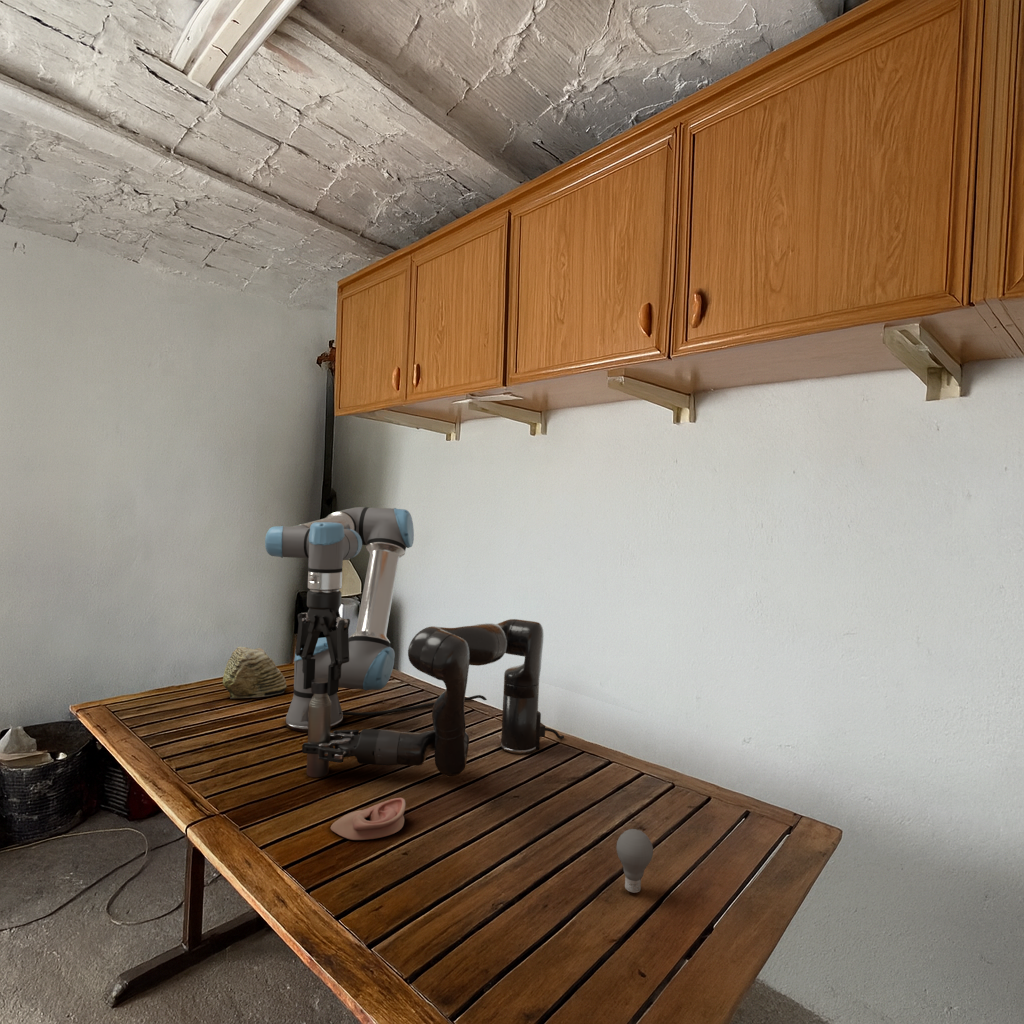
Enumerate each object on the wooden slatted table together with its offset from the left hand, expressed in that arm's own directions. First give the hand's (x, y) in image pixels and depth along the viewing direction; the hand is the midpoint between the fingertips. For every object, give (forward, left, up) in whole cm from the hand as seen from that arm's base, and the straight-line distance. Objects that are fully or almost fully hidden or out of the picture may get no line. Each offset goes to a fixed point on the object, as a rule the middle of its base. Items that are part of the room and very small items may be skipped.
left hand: (320, 690), depth 145 cm
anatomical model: (+7, +27, -19) cm, 34 cm away
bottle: (0, 0, -19) cm, 19 cm away
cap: (0, 0, +2) cm, 2 cm away
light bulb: (-10, +75, -19) cm, 78 cm away
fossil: (-19, -61, -19) cm, 67 cm away
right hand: (+2, -2, -12) cm, 13 cm away
